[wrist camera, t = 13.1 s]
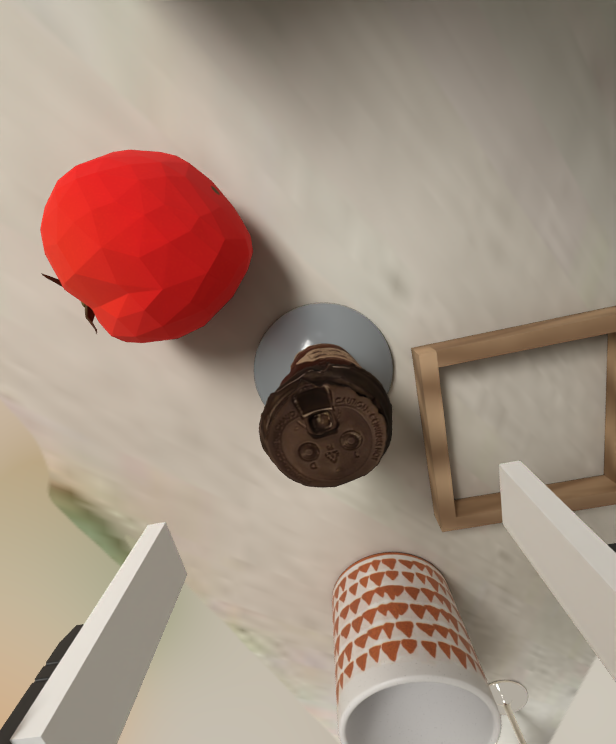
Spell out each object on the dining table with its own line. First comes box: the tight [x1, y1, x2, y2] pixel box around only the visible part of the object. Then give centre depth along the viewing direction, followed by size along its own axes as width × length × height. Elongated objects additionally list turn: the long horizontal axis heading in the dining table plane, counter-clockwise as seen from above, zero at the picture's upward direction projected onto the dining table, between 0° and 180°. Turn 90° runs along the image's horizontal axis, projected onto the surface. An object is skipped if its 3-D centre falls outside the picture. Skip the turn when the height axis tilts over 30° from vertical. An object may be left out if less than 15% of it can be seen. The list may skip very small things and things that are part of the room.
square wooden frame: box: [411, 306, 616, 532], centre depth 33 cm, size 19×19×2 cm
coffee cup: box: [259, 343, 392, 487], centre depth 26 cm, size 9×8×13 cm
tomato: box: [40, 150, 253, 343], centre depth 25 cm, size 13×13×13 cm
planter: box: [332, 552, 502, 744], centre depth 35 cm, size 14×14×13 cm
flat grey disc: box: [254, 303, 393, 405], centre depth 33 cm, size 13×13×1 cm
